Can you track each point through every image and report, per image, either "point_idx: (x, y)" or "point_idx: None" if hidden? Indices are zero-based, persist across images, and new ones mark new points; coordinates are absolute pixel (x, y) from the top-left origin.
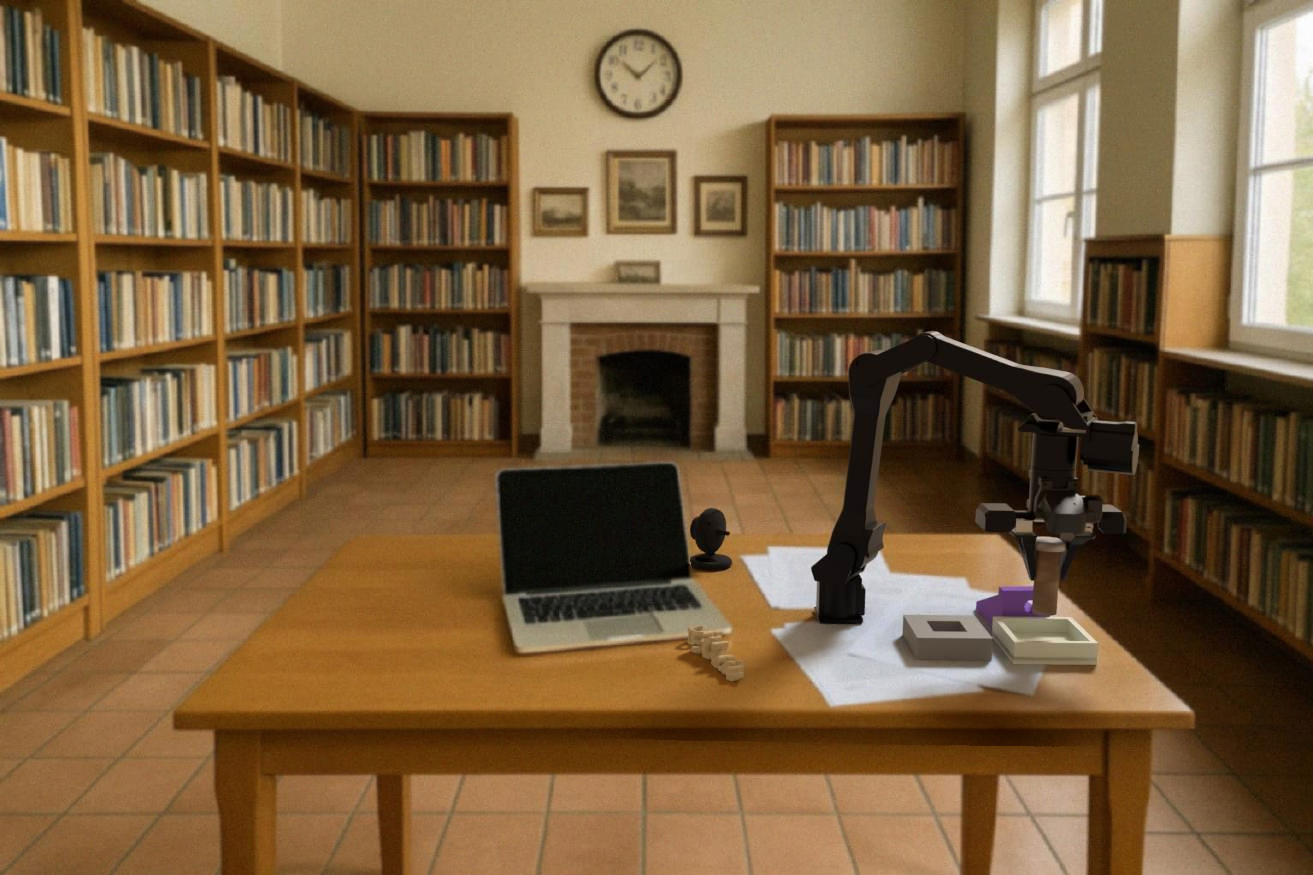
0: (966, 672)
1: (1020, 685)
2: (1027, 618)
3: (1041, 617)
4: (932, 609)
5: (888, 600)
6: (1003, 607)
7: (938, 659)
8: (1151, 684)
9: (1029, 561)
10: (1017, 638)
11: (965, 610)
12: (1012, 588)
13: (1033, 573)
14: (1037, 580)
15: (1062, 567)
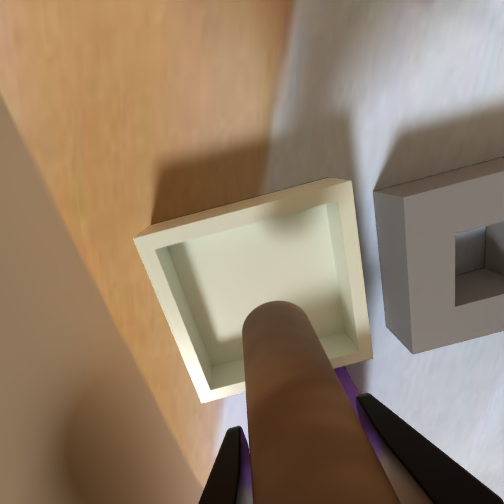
0: (442, 86)
1: (330, 16)
2: None
3: None
4: (431, 431)
5: (493, 448)
6: (355, 390)
7: (485, 162)
8: (15, 119)
9: (465, 481)
10: (313, 304)
11: None
12: None
13: (380, 419)
14: (343, 393)
15: (237, 496)
